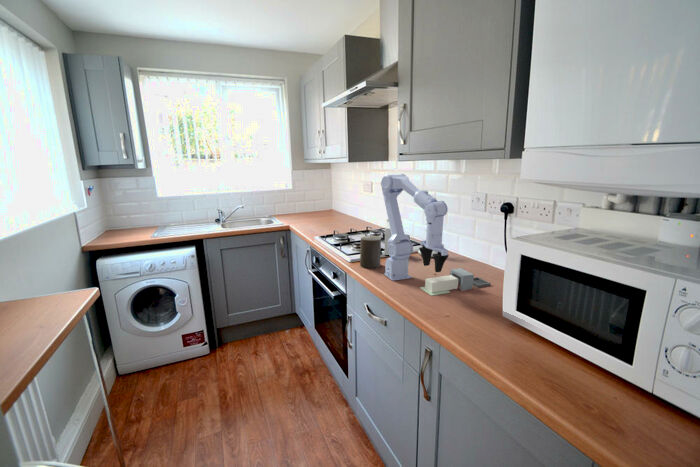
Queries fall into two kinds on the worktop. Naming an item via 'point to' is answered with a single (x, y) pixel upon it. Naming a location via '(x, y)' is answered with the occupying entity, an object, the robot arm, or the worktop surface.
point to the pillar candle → (370, 252)
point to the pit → (480, 282)
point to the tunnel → (463, 278)
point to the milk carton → (387, 237)
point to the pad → (434, 292)
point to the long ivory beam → (441, 283)
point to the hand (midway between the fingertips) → (432, 268)
